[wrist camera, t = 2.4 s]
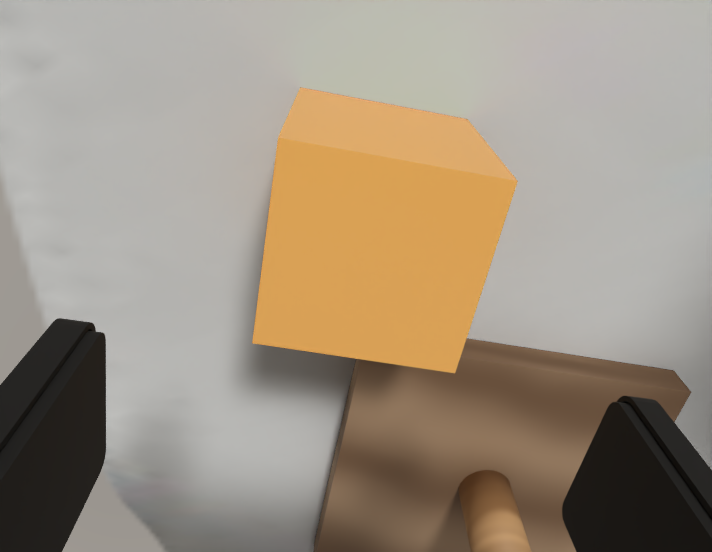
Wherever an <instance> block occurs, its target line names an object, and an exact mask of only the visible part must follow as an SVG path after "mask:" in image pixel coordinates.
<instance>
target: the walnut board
mask: <svg viewBox="0 0 712 552" xmlns="http://www.w3.org/2000/svg"><path fill="white" fill-rule="evenodd" d="M690 393H691V391H690V390H689V389H688V388H687V386H686V385H685V384H684V383H683V381H682V380H681V379H680V378H679V376H678V375H677V374H676V373H675V372H674V371H673V370H667V369H660V368H654V367H647V366H641V365H635V364H628V363H622V362H615V361H609V360H602V359H596V358H589V357H583V356H576V355H570V354H563V353H557V352H550V351H544V350H537V349H531V348H525V347H518V346H512V345H505V344H499V343H492V342H486V341H479V340H473V339H466V341H465V344H464V348H463V351H462V354H461V357H460V360H459V363H458V366H457V369H456V372H455V373H449V372H443V371H436V370H429V369H422V368H416V367H409V366H402V365H396V364H389V363H382V362H375V361H369V360H362V359H356V362H355V366H354V370H353V375H352V379H351V384H350V388H349V392H348V397H347V401H346V406H345V410H344V414H343V419H342V423H341V428H340V432H339V437H338V441H337V445H336V450H335V454H334V459H333V463H332V467H331V472H330V476H329V481H328V485H327V489H326V494H325V498H324V503H323V507H322V512H321V516H320V520H319V525H318V529H317V534H316V538H315V542H314V552H576V550H575V547H574V545H573V543H572V540H571V538H570V536H569V533H568V531H567V529H566V526H565V524H564V521H563V517H562V506H563V502H564V499H565V497H566V495H567V493H568V491H569V489H570V486H571V484H572V482H573V480H574V478H575V476H576V474H577V472H578V469H579V467H580V465H581V463H582V461H583V459H584V457H585V455H586V452H587V450H588V448H589V446H590V444H591V442H592V440H593V437H594V435H595V433H596V431H597V429H598V427H599V425H600V423H601V420H602V418H603V416H604V414H605V412H606V410H607V408H608V406H609V405H610V404H611V403H612V402H617V400H618V399H619V398H620V397H622V396H633V397H640V398H647V399H653V400H656V401H657V402H658V403H659V404H660V405H661V406H662V407H663V409H664V410H665V411H666V413H667V414H668V415H669V416H670V418H671V419H672V420H673V422H675V420H676V418H677V416H678V415H679V413H680V411H681V409H682V407H683V406H684V404H685V402H686V400H687V399H688V397H689V395H690Z"/></svg>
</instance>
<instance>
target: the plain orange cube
mask: <svg viewBox="0 0 712 552" xmlns="http://www.w3.org/2000/svg"><path fill="white" fill-rule="evenodd" d="M517 182H518V181H517V180H516V178H515V177H514V176H513V175H512V173H511V172H510V171H509V170H508V169H507V167H506V166H505V165H504V164H503V162H502V161H501V160H500V159H499V157H498V156H497V155H496V154H495V153H494V151H493V150H492V149H491V148H490V146H489V145H488V144H487V143H486V141H485V140H484V139H483V138H482V137H481V135H480V134H479V133H478V132H477V130H476V129H475V128H474V127H473V125H472V124H471V123H470V122H469V121H468V119H463V118H458V117H453V116H448V115H442V114H437V113H432V112H427V111H421V110H416V109H411V108H406V107H400V106H395V105H390V104H385V103H379V102H374V101H369V100H364V99H358V98H353V97H348V96H343V95H337V94H332V93H327V92H322V91H316V90H311V89H306V88H301V87H300V89H299V92H298V94H297V96H296V98H295V101H294V103H293V105H292V107H291V110H290V112H289V114H288V116H287V119H286V121H285V123H284V126H283V128H282V130H281V132H280V135H279V137H278V143H277V151H276V159H275V167H274V175H273V183H272V191H271V198H270V206H269V214H268V222H267V230H266V238H265V246H264V254H263V262H262V270H261V278H260V286H259V294H258V302H257V310H256V318H255V325H254V333H253V341H252V343H254V344H261V345H268V346H274V347H281V348H288V349H295V350H301V351H308V352H315V353H322V354H328V355H335V356H342V357H348V358H355V359H362V360H369V361H375V362H382V363H389V364H396V365H402V366H409V367H416V368H422V369H429V370H436V371H443V372H449V373H455V372H456V369H457V366H458V363H459V360H460V357H461V354H462V351H463V348H464V344H465V341H466V338H467V335H468V332H469V329H470V326H471V323H472V320H473V317H474V314H475V311H476V308H477V304H478V301H479V298H480V295H481V292H482V289H483V286H484V283H485V280H486V277H487V274H488V271H489V268H490V265H491V261H492V258H493V255H494V252H495V249H496V246H497V243H498V240H499V237H500V234H501V231H502V228H503V225H504V222H505V218H506V215H507V212H508V209H509V206H510V203H511V200H512V197H513V194H514V191H515V188H516V185H517Z"/></svg>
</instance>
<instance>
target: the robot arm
mask: <svg viewBox="0 0 712 552" xmlns="http://www.w3.org/2000/svg"><path fill="white" fill-rule="evenodd" d="M105 453H106V340H105V335H104V333H101V332H96V330H95V326H94V324H93V323H90V322H83V321H75V320H68V319H61V318H59V319H56V320H55V321H54V322H53V323H52V324H51V325H50V327H49V328H48V329H47V330H46V331H45V333H44V334H43V335H42V336H41V337H40V338H39V340H38V341H37V342H36V343H35V345H34V346H33V347H32V348H31V349H30V351H29V352H28V353H27V354H26V355H25V356H24V358H23V359H22V360H21V361H20V362H19V364H18V365H17V366H16V367H15V368H14V370H13V371H12V372H11V373H10V374H9V375H8V377H7V378H6V379H5V380H4V381H3V383H2V384H1V385H0V552H62V550H63V548H64V546H65V544H66V542H67V540H68V538H69V536H70V534H71V532H72V530H73V528H74V525H75V523H76V521H77V519H78V517H79V515H80V513H81V511H82V509H83V507H84V505H85V503H86V501H87V499H88V497H89V494H90V492H91V490H92V488H93V486H94V484H95V482H96V480H97V478H98V476H99V474H100V472H101V469H102V466H103V463H104V459H105ZM562 517H563V521H564V524H565V526H566V529H567V531H568V533H569V536H570V538H571V540H572V543H573V545H574V547H575V550H576V552H712V470H711V469H710V468H709V466H708V465H707V464H706V463H705V461H704V460H703V459H702V457H701V456H700V455H699V454H698V452H697V451H696V450H695V448H694V447H693V446H692V445H691V443H690V442H689V441H688V440H687V438H686V437H685V436H684V434H683V433H682V432H681V431H680V429H679V428H678V427H677V425H676V424H675V423H674V422H673V420H672V419H671V418H670V416H669V415H668V414H667V413H666V411H665V410H664V409H663V407H662V406H661V405H660V404H659V403H658V402H657V401H656V400H653V399H647V398H640V397H633V396H622V397H620V398H619V399H618V400H617V402H612V403H611V404H610V405H609V406H608V408H607V410H606V412H605V414H604V416H603V418H602V420H601V423H600V425H599V427H598V429H597V431H596V433H595V435H594V437H593V440H592V442H591V444H590V446H589V448H588V450H587V452H586V455H585V457H584V459H583V461H582V463H581V465H580V467H579V469H578V472H577V474H576V476H575V478H574V480H573V482H572V484H571V486H570V489H569V491H568V493H567V495H566V497H565V499H564V502H563V506H562Z"/></svg>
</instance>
